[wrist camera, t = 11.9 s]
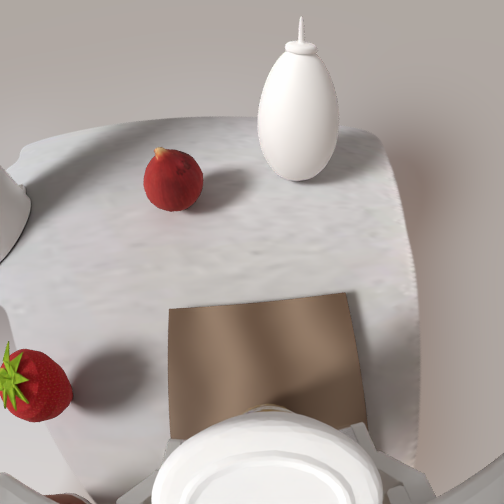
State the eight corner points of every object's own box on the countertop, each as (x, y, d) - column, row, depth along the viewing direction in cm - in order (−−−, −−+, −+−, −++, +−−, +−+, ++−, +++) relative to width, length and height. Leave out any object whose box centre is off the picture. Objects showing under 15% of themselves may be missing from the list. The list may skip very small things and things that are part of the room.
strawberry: (39, 374, 19) (-35, 346, 10) (89, 355, 20) (10, 317, 11) (52, 429, 16) (-27, 419, 7) (107, 416, 17) (22, 408, 9)
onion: (197, 179, 30) (182, 122, 23) (217, 211, 27) (203, 149, 21) (151, 201, 29) (126, 146, 22) (165, 236, 26) (136, 179, 19)
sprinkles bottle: (259, 390, 16) (240, 366, 4) (317, 426, 14) (432, 470, 3) (217, 441, 14) (106, 512, 3) (274, 478, 13) (288, 609, 1)
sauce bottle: (338, 194, 28) (370, 30, 12) (267, 203, 28) (261, 22, 12) (316, 150, 32) (328, 13, 17) (254, 157, 32) (244, 11, 16)
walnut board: (189, 533, 11) (184, 539, 10) (174, 314, 22) (169, 308, 21) (365, 517, 11) (371, 523, 10) (340, 299, 22) (345, 292, 20)
